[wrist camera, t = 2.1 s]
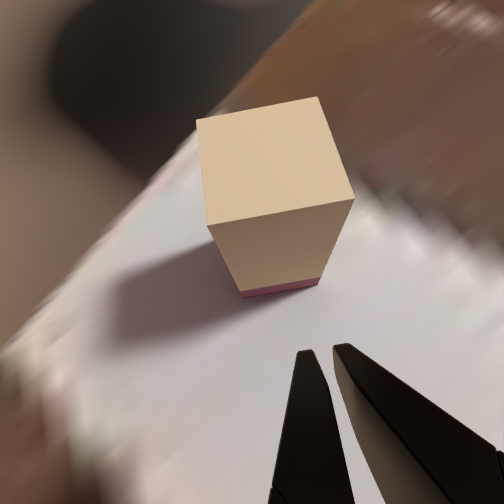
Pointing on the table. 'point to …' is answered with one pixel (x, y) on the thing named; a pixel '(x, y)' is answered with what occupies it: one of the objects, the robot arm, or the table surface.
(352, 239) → the table surface
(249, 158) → the marked block
